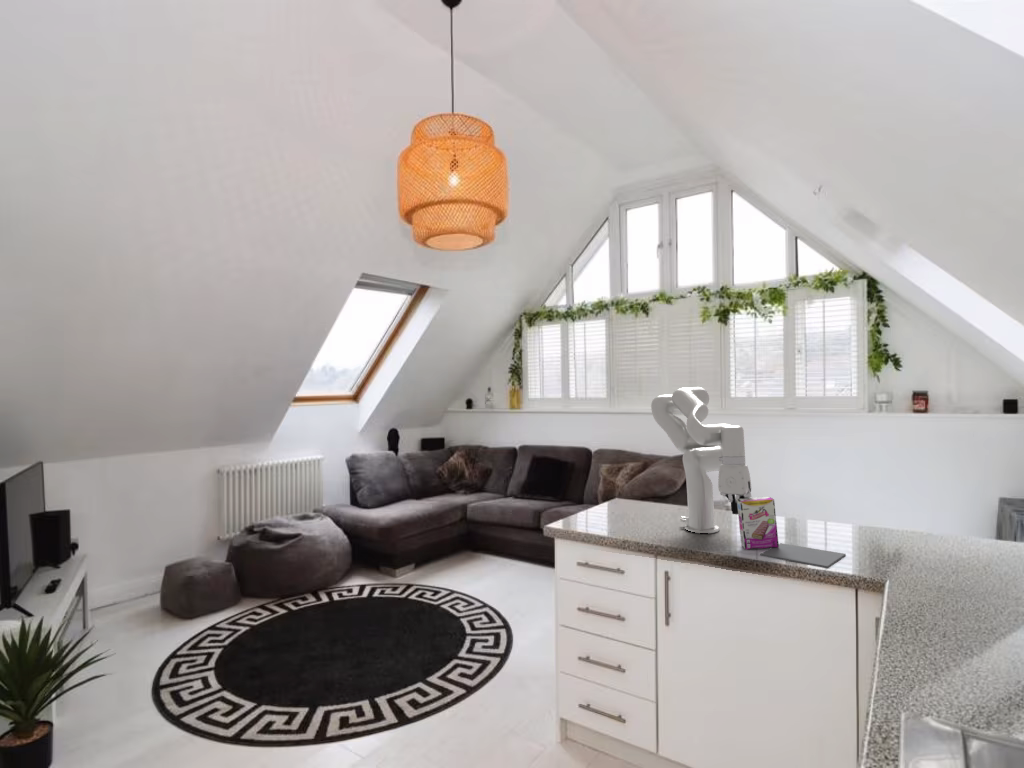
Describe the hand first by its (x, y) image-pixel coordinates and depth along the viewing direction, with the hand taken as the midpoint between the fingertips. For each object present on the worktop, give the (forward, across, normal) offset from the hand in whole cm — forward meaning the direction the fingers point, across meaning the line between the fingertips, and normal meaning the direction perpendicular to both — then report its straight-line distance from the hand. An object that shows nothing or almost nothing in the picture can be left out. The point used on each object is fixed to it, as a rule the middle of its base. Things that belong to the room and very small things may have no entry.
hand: (736, 513), depth 196 cm
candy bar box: (+11, +8, 0) cm, 13 cm away
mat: (+11, +21, 0) cm, 24 cm away
